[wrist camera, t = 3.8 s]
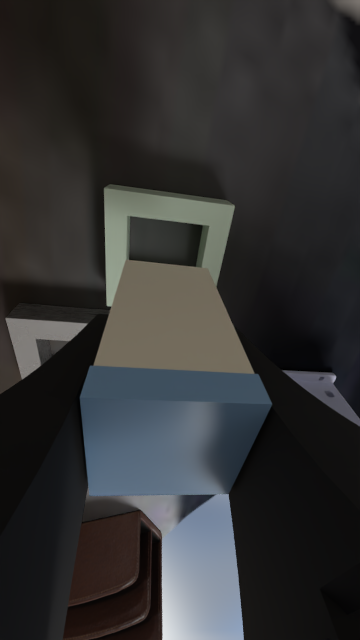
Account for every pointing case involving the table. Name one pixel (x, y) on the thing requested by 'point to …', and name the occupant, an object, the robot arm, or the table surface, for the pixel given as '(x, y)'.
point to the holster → (162, 207)
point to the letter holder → (116, 581)
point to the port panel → (44, 330)
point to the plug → (169, 389)
